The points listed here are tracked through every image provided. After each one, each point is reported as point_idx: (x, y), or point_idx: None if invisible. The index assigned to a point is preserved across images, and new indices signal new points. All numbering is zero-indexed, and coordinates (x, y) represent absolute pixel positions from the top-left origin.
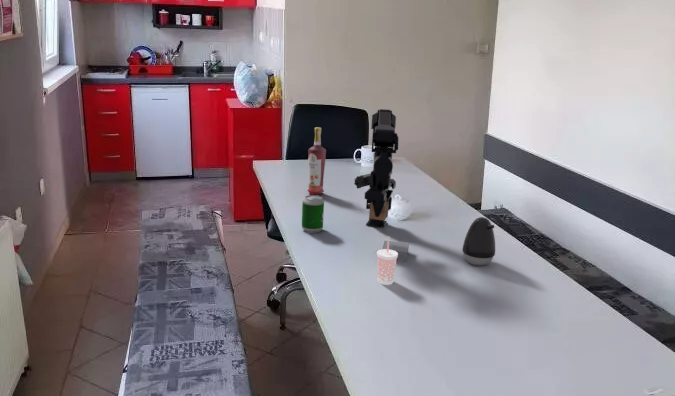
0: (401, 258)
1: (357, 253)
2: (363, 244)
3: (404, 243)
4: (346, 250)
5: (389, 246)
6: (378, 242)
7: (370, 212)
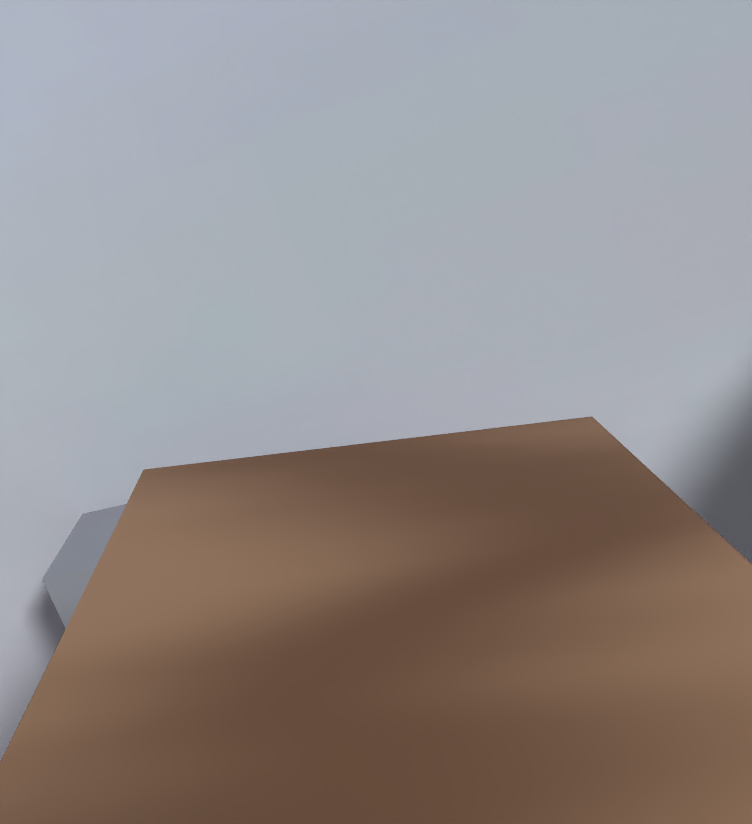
0: None
1: (45, 211)
2: (393, 169)
3: None
4: (45, 18)
5: None
6: (547, 322)
7: (99, 605)
